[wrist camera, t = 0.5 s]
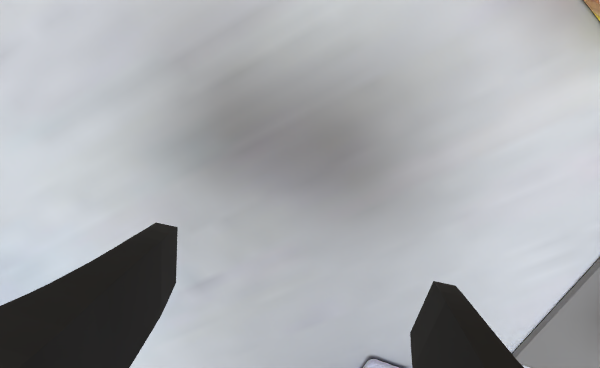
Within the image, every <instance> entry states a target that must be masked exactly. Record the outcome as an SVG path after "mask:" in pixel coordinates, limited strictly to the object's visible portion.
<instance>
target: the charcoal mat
mask: <svg viewBox="0 0 600 368" xmlns="http://www.w3.org/2000/svg"><path fill="white" fill-rule="evenodd" d="M512 355H513V356H514V357H515V358H516V359H517V360H518V362H519V363H520V364H522V365H524V366H527V367H530V368H600V258H599V259H598V260H597V261H596V263H595V264H594V265H593V266H592V267H591V268H590V269H589V270H588V271H587V272H586V273H585V275H584V276H583V277H582V278H581V279H580V280H579V281H578V282H577V283H576V284H575V286H574V287H573V288H572V289H571V290H570V291H569V292H568V293H567V294H566V295H565V296H564V298H563V299H562V300H561V301H560V302H559V303H558V304H557V305H556V306H555V307H554V309H553V310H552V311H551V312H550V313H549V314H548V315H547V316H546V317H545V318H544V320H543V321H542V322H541V323H540V324H539V325H538V326H537V327H536V328H535V329H534V330H533V332H532V333H531V334H530V335H529V336H528V337H527V338H526V339H525V340H524V341H523V343H522V344H521V345H520V346H519V347H518V348H517V349H516V350H515V351H514V352H513V354H512Z"/></svg>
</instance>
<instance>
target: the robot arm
mask: <svg viewBox="0 0 600 368" xmlns="http://www.w3.org/2000/svg"><path fill="white" fill-rule="evenodd" d="M176 260H177V227H174V226H169V225H165V224H160V223H155V224H153V225H151V226H150V227H148V228H146V229H145V230H143V231H141V232H140V233H138V234H136V235H135V236H133V237H131V238H130V239H128V240H126V241H125V242H123V243H122V244H120V245H118V246H117V247H115V248H113V249H112V250H110V251H108V252H106V253H105V254H103V255H101V256H100V257H98V258H96V259H94V260H93V261H91V262H89V263H87V264H85V265H84V266H82V267H80V268H78V269H76V270H74V271H72V272H70V273H69V274H67V275H65V276H63V277H61V278H59V279H57V280H55V281H53V282H52V283H50V284H48V285H45V286H43V287H41V288H39V289H37V290H35V291H33V292H31V293H29V294H27V295H24V296H22V297H20V298H17V299H15V300H13V301H11V302H8V303H6V304H4V305H2V306H0V368H129V367H130V366H131V364H132V362H133V361H134V359H135V358H136V356H137V354H138V353H139V351H140V349H141V348H142V346H143V345H144V343H145V341H146V340H147V338H148V336H149V335H150V333H151V331H152V330H153V328H154V326H155V325H156V323H157V321H158V320H159V318H160V316H161V314H162V312H163V310H164V308H165V306H166V304H167V302H168V299H169V297H170V295H171V293H172V290H173V288H174V286H175V283H176ZM410 335H411V353H412V366H413V368H524V367H523V366H522V365H521V364H520V363H519V362H518V360H517V359H516V358H515V357H514V356H513V355H512V354H511V352H510V351H509V350H508V349H507V348H506V346H505V345H504V344H503V343H502V342H501V340H500V339H499V338H498V337H497V336H496V334H495V333H494V332H493V331H492V330H491V328H490V327H489V326H488V325H487V323H486V322H485V321H484V320H483V318H482V317H481V316H480V315H479V313H478V312H477V311H476V310H475V309H474V307H473V306H472V305H471V304H470V302H469V301H468V300H467V299H466V297H465V296H464V295H463V294H462V293H461V291H460V290H459V289H458V288H457V287H456V286H454V285H449V284H444V283H440V282H435V281H433V284H432V286H431V288H430V290H429V292H428V295H427V297H426V299H425V301H424V304H423V306H422V308H421V310H420V312H419V315H418V317H417V319H416V321H415V324H414V326H413V328H412V330H411V332H410ZM363 368H399V367H396V366H393V365H390V364H388V363H385V362H382V361H379V360H377V359H371V360H368V361H367V363H366V364H365V366H364V367H363Z"/></svg>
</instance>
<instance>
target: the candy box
mask: <svg viewBox="0 0 600 368" xmlns="http://www.w3.org/2000/svg"><path fill="white" fill-rule="evenodd" d="M584 1H585V3H586V4H587V5H588V6H589V8H590V9H591V10H592V12H593V13H594V14H595V16H596V17H597V18H598V20H599V21H600V0H584Z"/></svg>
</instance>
